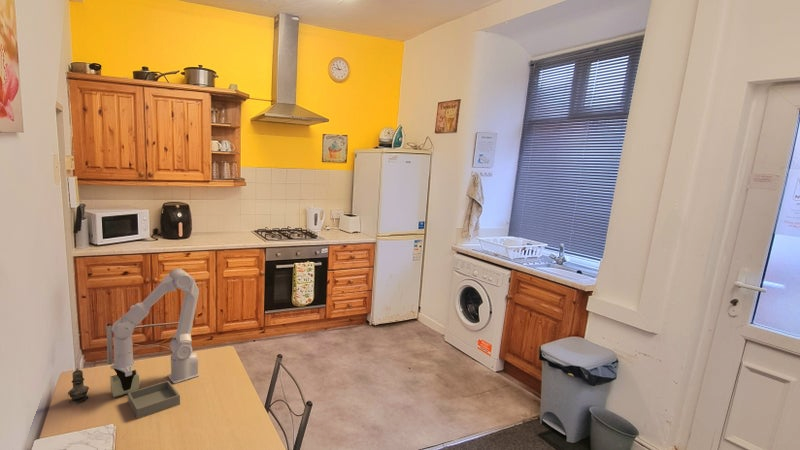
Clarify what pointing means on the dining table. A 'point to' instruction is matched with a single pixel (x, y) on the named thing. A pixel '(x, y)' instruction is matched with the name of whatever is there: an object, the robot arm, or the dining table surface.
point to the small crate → (117, 386)
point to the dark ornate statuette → (78, 388)
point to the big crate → (153, 399)
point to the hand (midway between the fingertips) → (125, 386)
